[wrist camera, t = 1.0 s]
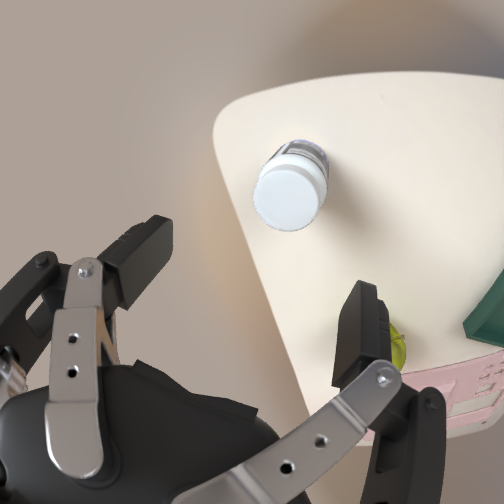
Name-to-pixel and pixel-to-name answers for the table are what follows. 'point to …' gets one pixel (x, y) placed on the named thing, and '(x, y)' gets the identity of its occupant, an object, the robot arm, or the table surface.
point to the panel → (460, 386)
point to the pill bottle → (292, 186)
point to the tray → (488, 317)
